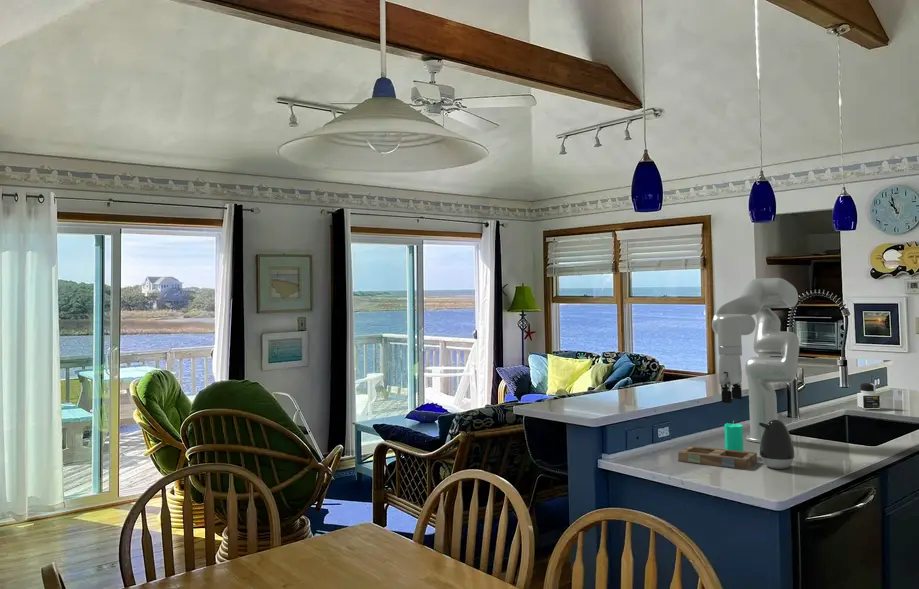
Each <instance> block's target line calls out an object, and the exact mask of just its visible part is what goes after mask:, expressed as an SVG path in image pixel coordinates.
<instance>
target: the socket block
mask: <svg viewBox="0 0 919 589" xmlns="http://www.w3.org/2000/svg"><path fill="white" fill-rule="evenodd" d="M757 455H758V454H757V452H754V451H744V450H743V451H736V450H727V449H725V448H717V447H707V446H697V445H689V446H688V447H685V448H683V449H681V450H679V451H678V452H677V457H678V458H677V459H678V460H677V461H678V462H682V463H683V462H684V463H691V464H699V465H708V466H715V467H723V468H731V469H741V470H748V469H749V468H751V467H752V466H753V465H754V464H756V463H758V456H757Z"/></svg>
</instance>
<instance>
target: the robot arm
mask: <svg viewBox="0 0 919 589" xmlns="http://www.w3.org/2000/svg"><path fill="white" fill-rule="evenodd" d="M798 300H799V294H798V290H797V288H796V287H795V286H794V285H793V284H792V283H790V282H789V281H787V280H786V279H784V278H782V277H767V278H766V277H765V278H753V279H752V280H750V281H748V283H747V284H746V286H745V288H744V289H743V291H742V293H741V294H740V295H739V297H737V298H735V299H732V300H730V301H727V302H726V303H724V304H723V305H721V306H720V307H719V308H717V310H716V312H715V313H714V315H713V317H712V321H711V328H712V329H711V330H712V331H713V332H714V334H716V335H717V342H718V343H717V344H718V345H717V346H718V349H717V350H718V356H719V359H718V384H719V385H720V387H721V388H720V391H721V403H724V404H731V403H733V400H732V399H734V400H742V398H743V393H742V378H743V377H742V362H741V360H742V359H741V357H742V356H743V351H742V350H743V346H742V336H748V335H751V334H752V333H754V340H753V351H754V352H755V354H756V355H758V356H753V357H751V358H748V360H747V361H746V362H745V365H744V367H745V368H744V370H745V375H746V378H747V385H748V386H747V387H748V400H749V405H748V406H749V407H748V408H749V427H750V428H749V433H750V434H747V435H746V437H745V440H746V441H749V442H754V443H757V444H758V443H761V438H762V434H763V432H764V429H765V428H764V427H762V426H760V425H759V423H760V422H761V423H764V424H768V422H769V421H771V420H778V408H777V406H778V405H777V404H778V403H777V393H776V391H775V389H774V387H773V386H772V384H773V383H775V384H776V383H778V384H790V383H792V382H794V381H795V379H796V376H797V369H798V362H799V354H800V339H799V336H798V335H797V334H796V333H795V332H792V331H781V319H780V318H779V317H778V315H777V314H776V313H775V312H774V311H773V310H772V309H787V308H789V309H790V308H794V307H795V306H796V305H797V303H798ZM754 316H755V318H754ZM755 319H756V320H755ZM759 355H760V356H759ZM770 383H772V384H770Z"/></svg>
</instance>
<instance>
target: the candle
mask: <svg viewBox="0 0 919 589" xmlns="http://www.w3.org/2000/svg"><path fill="white" fill-rule="evenodd" d="M734 422H735V420H733V421H732V423H728V422H726V423H725V424H724V449H727V450H736V451H744V435H743V434H744V428H743V424H738V423H737V424H736V423H734Z"/></svg>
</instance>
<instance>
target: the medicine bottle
mask: <svg viewBox="0 0 919 589" xmlns="http://www.w3.org/2000/svg"><path fill="white" fill-rule="evenodd" d="M876 391H877V389H876V384H875V383H871V382H869V383H868V382H866V383H865V382H862V383H861V384H860V392H857V393H856V400H857V407H858V406H859V407H862V408H880V409H881V402H880V401H881V399H880V397H881V396H880V394H878V393H876Z"/></svg>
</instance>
